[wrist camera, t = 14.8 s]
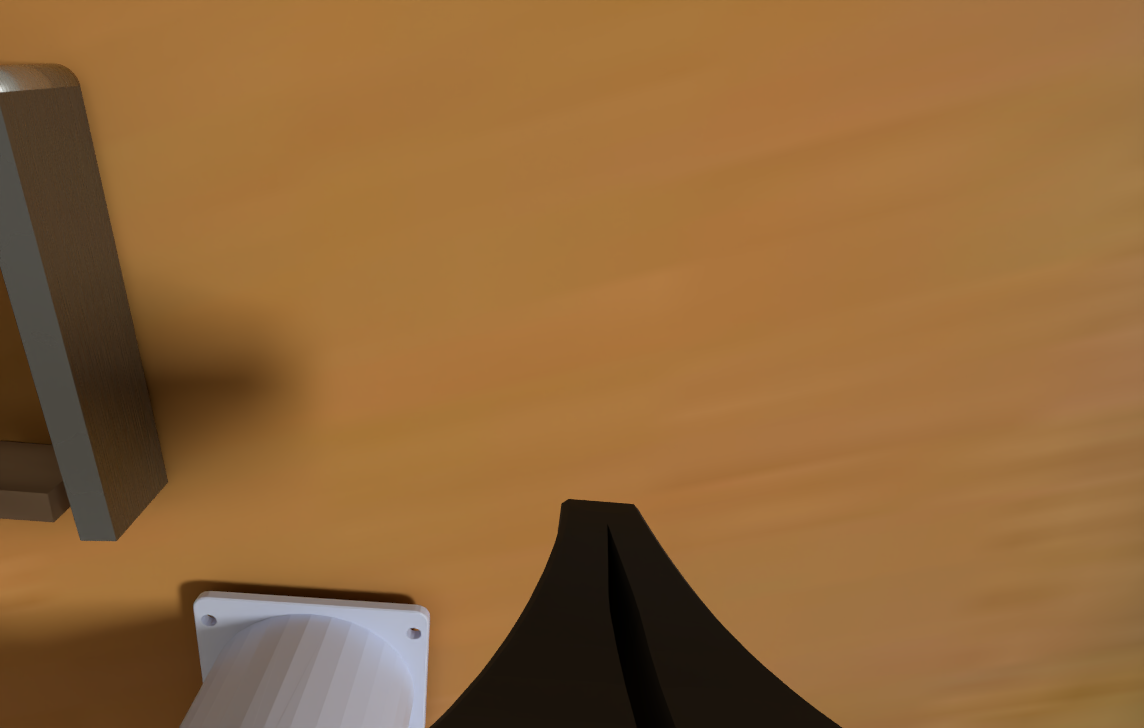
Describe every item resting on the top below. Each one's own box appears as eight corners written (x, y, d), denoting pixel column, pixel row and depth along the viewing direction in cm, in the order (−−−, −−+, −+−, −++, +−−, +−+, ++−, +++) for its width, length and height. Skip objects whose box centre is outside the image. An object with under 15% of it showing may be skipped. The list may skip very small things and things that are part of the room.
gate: (168, 482, 23) (116, 541, 20) (136, 481, 23) (80, 540, 20) (75, 64, 18) (-11, 67, 15) (34, 62, 18) (-59, 65, 15)
